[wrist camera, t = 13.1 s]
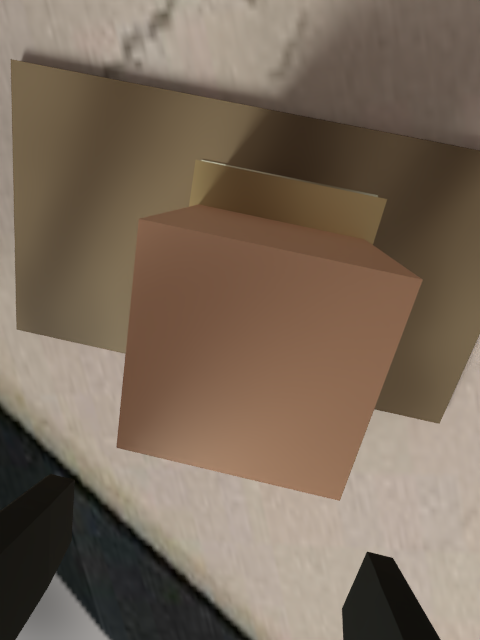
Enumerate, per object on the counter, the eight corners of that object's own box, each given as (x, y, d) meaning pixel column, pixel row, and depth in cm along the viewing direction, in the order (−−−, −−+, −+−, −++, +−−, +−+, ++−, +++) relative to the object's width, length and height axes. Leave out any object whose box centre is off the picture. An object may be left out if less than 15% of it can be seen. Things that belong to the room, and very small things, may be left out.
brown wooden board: (545, 165, 14) (555, 165, 13) (435, 417, 18) (439, 424, 17) (19, 63, 15) (10, 58, 14) (23, 325, 18) (15, 329, 18)
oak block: (353, 194, 14) (387, 199, 10) (306, 358, 17) (315, 425, 12) (224, 167, 15) (195, 159, 10) (196, 333, 17) (163, 390, 12)
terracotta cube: (364, 239, 10) (423, 280, 6) (319, 385, 12) (339, 500, 7) (198, 204, 10) (138, 218, 6) (176, 353, 12) (116, 447, 8)
